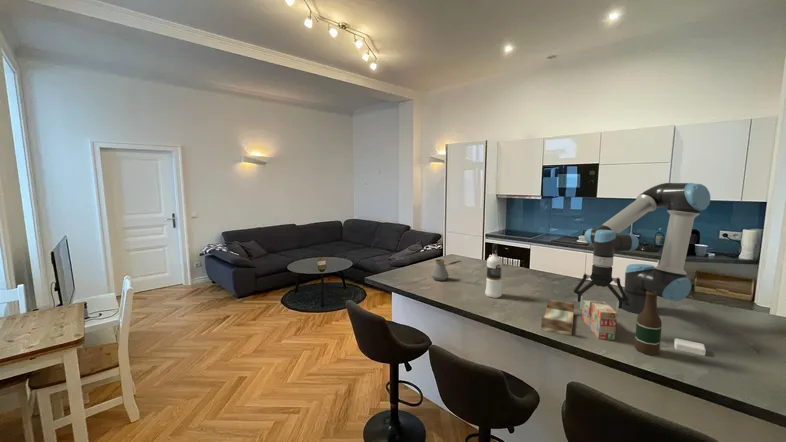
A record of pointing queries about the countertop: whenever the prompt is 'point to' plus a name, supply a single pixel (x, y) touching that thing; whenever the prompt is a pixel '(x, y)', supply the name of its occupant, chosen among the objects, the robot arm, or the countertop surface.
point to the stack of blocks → (600, 319)
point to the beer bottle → (648, 327)
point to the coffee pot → (441, 270)
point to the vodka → (494, 275)
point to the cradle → (558, 317)
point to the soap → (689, 346)
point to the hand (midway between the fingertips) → (598, 311)
